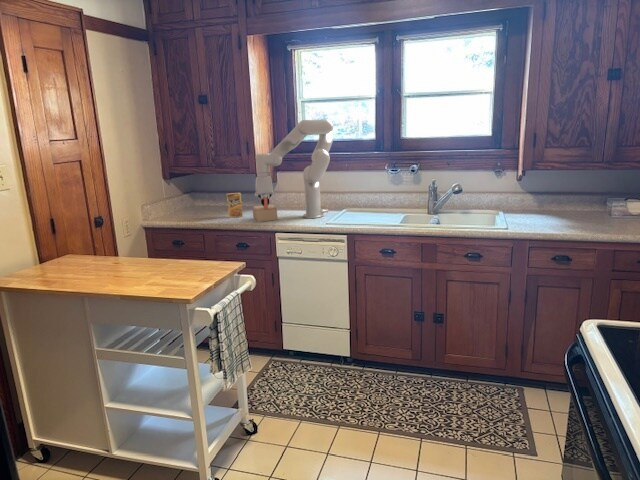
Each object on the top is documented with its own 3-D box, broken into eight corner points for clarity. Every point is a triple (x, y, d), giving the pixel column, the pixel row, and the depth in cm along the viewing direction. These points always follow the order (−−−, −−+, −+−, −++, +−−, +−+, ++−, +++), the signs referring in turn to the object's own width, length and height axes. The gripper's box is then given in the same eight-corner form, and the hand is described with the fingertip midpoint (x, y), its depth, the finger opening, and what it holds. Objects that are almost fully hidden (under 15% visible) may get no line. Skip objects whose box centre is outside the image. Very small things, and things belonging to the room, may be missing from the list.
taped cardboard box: (272, 205, 307) (271, 194, 305) (276, 208, 296) (275, 197, 294) (253, 207, 304) (252, 196, 302) (256, 210, 293) (255, 199, 291)
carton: (273, 216, 309) (273, 205, 308) (277, 220, 298) (276, 208, 296) (253, 218, 306) (252, 207, 304) (256, 222, 294) (255, 210, 292)
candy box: (229, 218, 309) (226, 194, 306) (228, 217, 313) (226, 193, 310) (242, 216, 312) (241, 193, 308) (241, 215, 316) (240, 192, 312)
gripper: (275, 173, 296) (277, 203, 301) (249, 175, 292) (251, 205, 297) (277, 174, 289) (279, 205, 294) (251, 176, 285) (253, 207, 290)
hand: (265, 205), depth 295 cm, fingers closed on taped cardboard box, 2 cm apart
